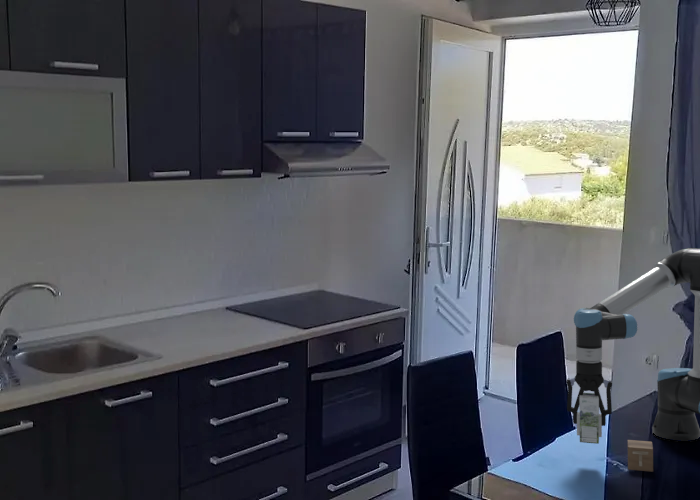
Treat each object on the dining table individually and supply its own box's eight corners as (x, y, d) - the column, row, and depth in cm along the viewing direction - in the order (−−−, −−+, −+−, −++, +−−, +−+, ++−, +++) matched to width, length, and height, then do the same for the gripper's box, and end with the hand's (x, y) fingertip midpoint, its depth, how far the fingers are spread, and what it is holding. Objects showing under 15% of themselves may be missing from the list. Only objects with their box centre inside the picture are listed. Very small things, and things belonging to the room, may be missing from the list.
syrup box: (599, 438, 228) (599, 392, 227) (599, 444, 223) (598, 397, 222) (580, 437, 230) (579, 391, 229) (579, 442, 225) (579, 396, 224)
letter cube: (627, 461, 229) (627, 439, 228) (652, 464, 226) (651, 441, 226) (628, 470, 222) (627, 447, 222) (653, 472, 220) (653, 449, 219)
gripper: (556, 361, 225) (556, 436, 226) (621, 364, 218) (621, 441, 220) (558, 356, 232) (558, 428, 233) (621, 359, 225) (621, 433, 227)
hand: (589, 434), depth 226 cm, fingers closed on syrup box, 6 cm apart
